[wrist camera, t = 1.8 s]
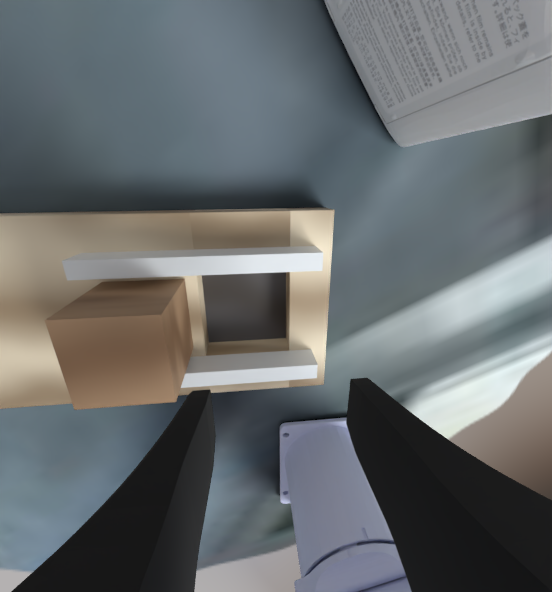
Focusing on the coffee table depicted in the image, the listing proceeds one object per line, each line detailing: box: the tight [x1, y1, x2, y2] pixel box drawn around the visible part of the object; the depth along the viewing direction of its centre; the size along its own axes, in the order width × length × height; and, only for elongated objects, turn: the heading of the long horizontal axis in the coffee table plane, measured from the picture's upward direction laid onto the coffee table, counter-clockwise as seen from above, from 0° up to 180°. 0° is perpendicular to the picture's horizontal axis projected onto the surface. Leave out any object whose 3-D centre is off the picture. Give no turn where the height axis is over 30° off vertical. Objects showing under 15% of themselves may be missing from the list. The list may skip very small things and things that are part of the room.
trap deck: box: [0, 208, 334, 409], centre depth 18 cm, size 12×22×2 cm, turn 91°
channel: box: [62, 246, 323, 388], centre depth 17 cm, size 8×13×2 cm, turn 91°
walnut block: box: [45, 279, 194, 410], centre depth 15 cm, size 5×5×5 cm
